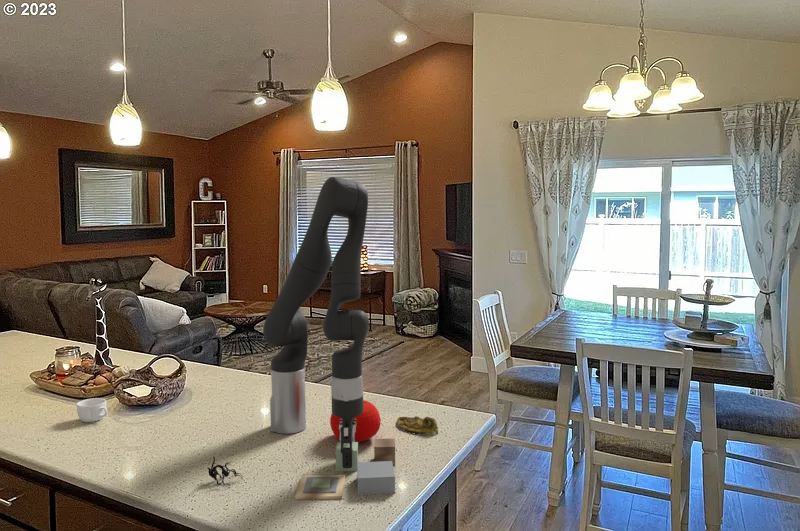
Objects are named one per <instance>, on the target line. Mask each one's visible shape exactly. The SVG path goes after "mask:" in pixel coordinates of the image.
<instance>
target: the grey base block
mask: <svg viewBox="0 0 800 531" xmlns="http://www.w3.org/2000/svg"><path fill="white" fill-rule="evenodd" d="M394 470H395V468H394V467H393V463H392V461H380V462H374V461H363V462H362V461H361V462H360V461H358V462H357V471H356V474H357V475H356V476H357V495H358V496H360V495H361V496H362V495H363V496H364V495H381V494H382V495H385V494H386V495H387V494H396V475H395V471H394Z"/></svg>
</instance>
